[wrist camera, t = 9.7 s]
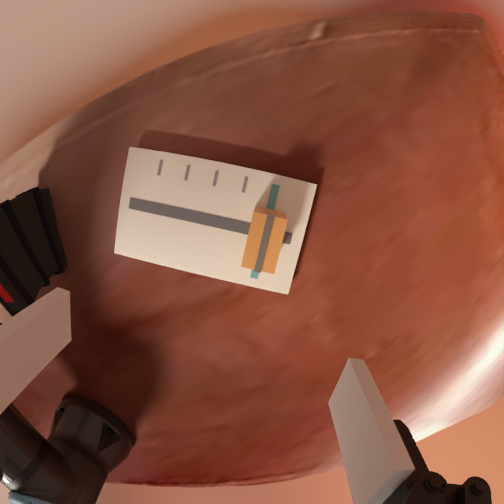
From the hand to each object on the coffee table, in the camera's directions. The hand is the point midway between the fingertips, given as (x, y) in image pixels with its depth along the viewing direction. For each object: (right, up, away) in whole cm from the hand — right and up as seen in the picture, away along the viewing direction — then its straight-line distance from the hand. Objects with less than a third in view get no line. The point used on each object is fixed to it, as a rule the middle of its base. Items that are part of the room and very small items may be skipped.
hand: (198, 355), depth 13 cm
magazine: (-24, +6, +22) cm, 34 cm away
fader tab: (+4, +6, +19) cm, 20 cm away
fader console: (-2, +8, +21) cm, 22 cm away
